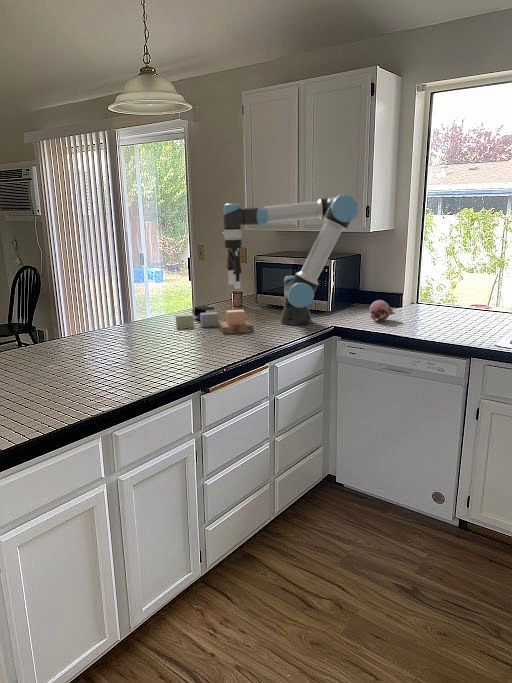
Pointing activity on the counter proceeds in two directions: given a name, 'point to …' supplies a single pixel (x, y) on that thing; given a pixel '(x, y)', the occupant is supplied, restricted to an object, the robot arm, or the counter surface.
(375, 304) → the toy
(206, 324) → the grey brick
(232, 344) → the counter surface
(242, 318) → the terracotta brick
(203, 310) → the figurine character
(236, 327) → the walnut board
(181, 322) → the olive brick
